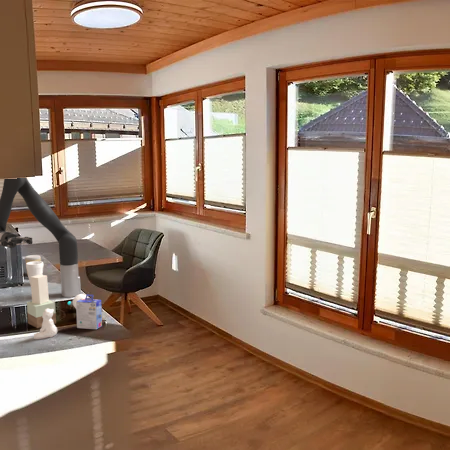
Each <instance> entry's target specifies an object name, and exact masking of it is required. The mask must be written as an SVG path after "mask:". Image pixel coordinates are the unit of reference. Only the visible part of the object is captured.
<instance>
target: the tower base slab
mask: <svg viewBox="0 0 450 450" xmlns="http://www.w3.org/2000/svg"><path fill="white" fill-rule="evenodd" d="M51 319H52V320H53V322H54V325H55V324H57V313H53V316H52V318H51ZM42 323H43V318H42V316H41V317H37V318H36V317H34V316H32V315H30V314H29V313H28V312H27V324H28V325H31V326H32V327H34V328H37V329H41V328H42Z"/></svg>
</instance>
